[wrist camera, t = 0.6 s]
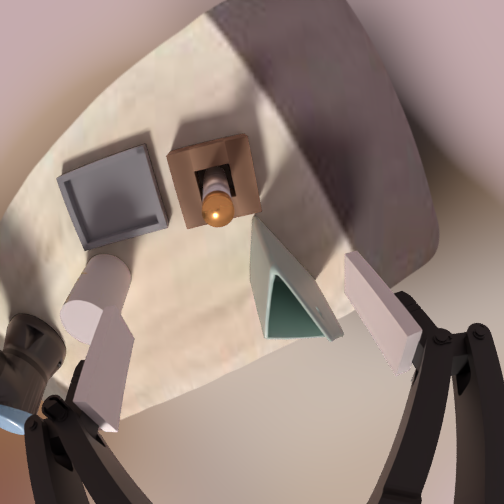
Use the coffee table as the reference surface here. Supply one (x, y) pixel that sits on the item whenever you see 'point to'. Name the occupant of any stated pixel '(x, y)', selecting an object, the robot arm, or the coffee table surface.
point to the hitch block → (207, 156)
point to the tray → (114, 198)
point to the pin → (216, 198)
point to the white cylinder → (95, 295)
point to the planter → (286, 292)
